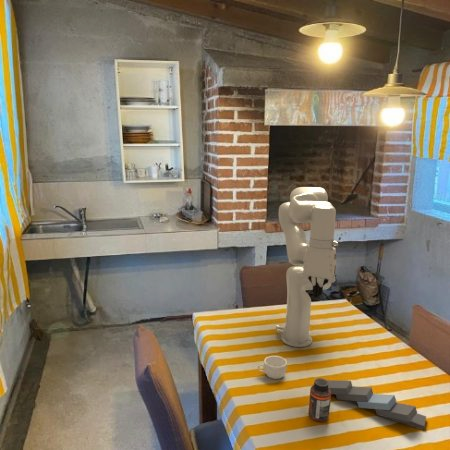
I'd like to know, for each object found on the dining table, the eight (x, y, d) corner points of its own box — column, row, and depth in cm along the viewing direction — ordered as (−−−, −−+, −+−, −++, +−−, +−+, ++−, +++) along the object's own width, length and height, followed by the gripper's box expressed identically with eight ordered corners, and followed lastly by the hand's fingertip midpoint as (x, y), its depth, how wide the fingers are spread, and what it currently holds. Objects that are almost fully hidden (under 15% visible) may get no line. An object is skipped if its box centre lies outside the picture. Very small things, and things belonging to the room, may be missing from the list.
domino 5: (387, 413, 120) (424, 426, 115) (390, 404, 124) (426, 416, 119) (386, 419, 120) (423, 432, 115) (389, 410, 125) (425, 422, 120)
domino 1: (316, 387, 131) (346, 388, 125) (321, 380, 135) (350, 380, 129) (317, 393, 131) (348, 394, 125) (322, 386, 135) (352, 386, 129)
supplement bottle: (305, 409, 123) (308, 376, 120) (324, 409, 123) (327, 375, 121) (311, 423, 117) (314, 388, 115) (331, 422, 117) (334, 387, 115)
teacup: (282, 368, 145) (283, 355, 143) (288, 381, 137) (289, 367, 136) (255, 370, 143) (256, 356, 142) (259, 382, 136) (260, 368, 135)
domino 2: (335, 393, 128) (366, 395, 122) (341, 385, 132) (371, 387, 126) (337, 399, 128) (368, 401, 122) (342, 391, 132) (373, 393, 126)
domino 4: (375, 408, 121) (407, 415, 113) (383, 400, 124) (415, 406, 116) (376, 414, 121) (409, 422, 113) (384, 406, 124) (417, 412, 116)
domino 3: (356, 401, 124) (387, 403, 117) (364, 393, 128) (394, 395, 121) (359, 407, 124) (389, 410, 117) (366, 399, 128) (396, 401, 121)
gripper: (347, 243, 131) (342, 297, 135) (302, 237, 138) (298, 288, 142) (342, 249, 125) (337, 304, 129) (295, 242, 131) (292, 295, 135)
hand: (317, 296), depth 135 cm, fingers closed
